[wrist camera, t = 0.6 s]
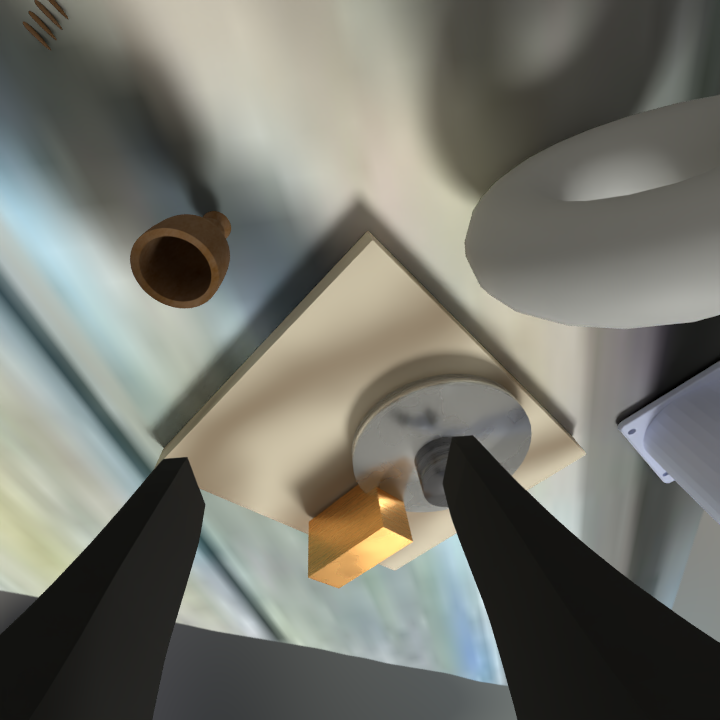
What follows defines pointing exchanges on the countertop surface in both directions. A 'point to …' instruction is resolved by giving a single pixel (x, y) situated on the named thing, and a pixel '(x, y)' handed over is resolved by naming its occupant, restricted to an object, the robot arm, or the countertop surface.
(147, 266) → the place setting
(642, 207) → the donut
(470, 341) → the board
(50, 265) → the countertop surface
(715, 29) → the countertop surface
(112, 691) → the robot arm
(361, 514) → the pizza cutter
